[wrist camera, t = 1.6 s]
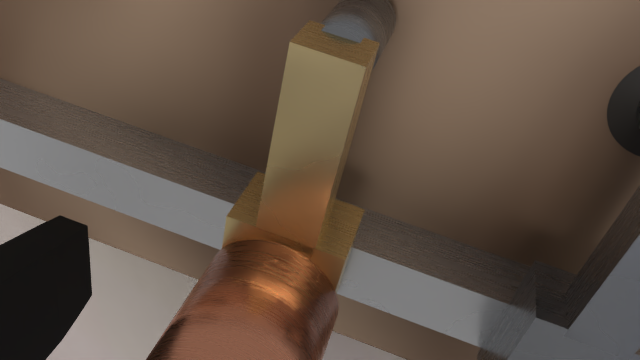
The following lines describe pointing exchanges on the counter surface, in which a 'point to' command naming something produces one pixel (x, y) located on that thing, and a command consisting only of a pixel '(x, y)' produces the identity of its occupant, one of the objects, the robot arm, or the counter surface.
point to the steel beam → (223, 192)
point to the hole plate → (364, 120)
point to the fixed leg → (578, 303)
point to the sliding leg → (290, 208)
